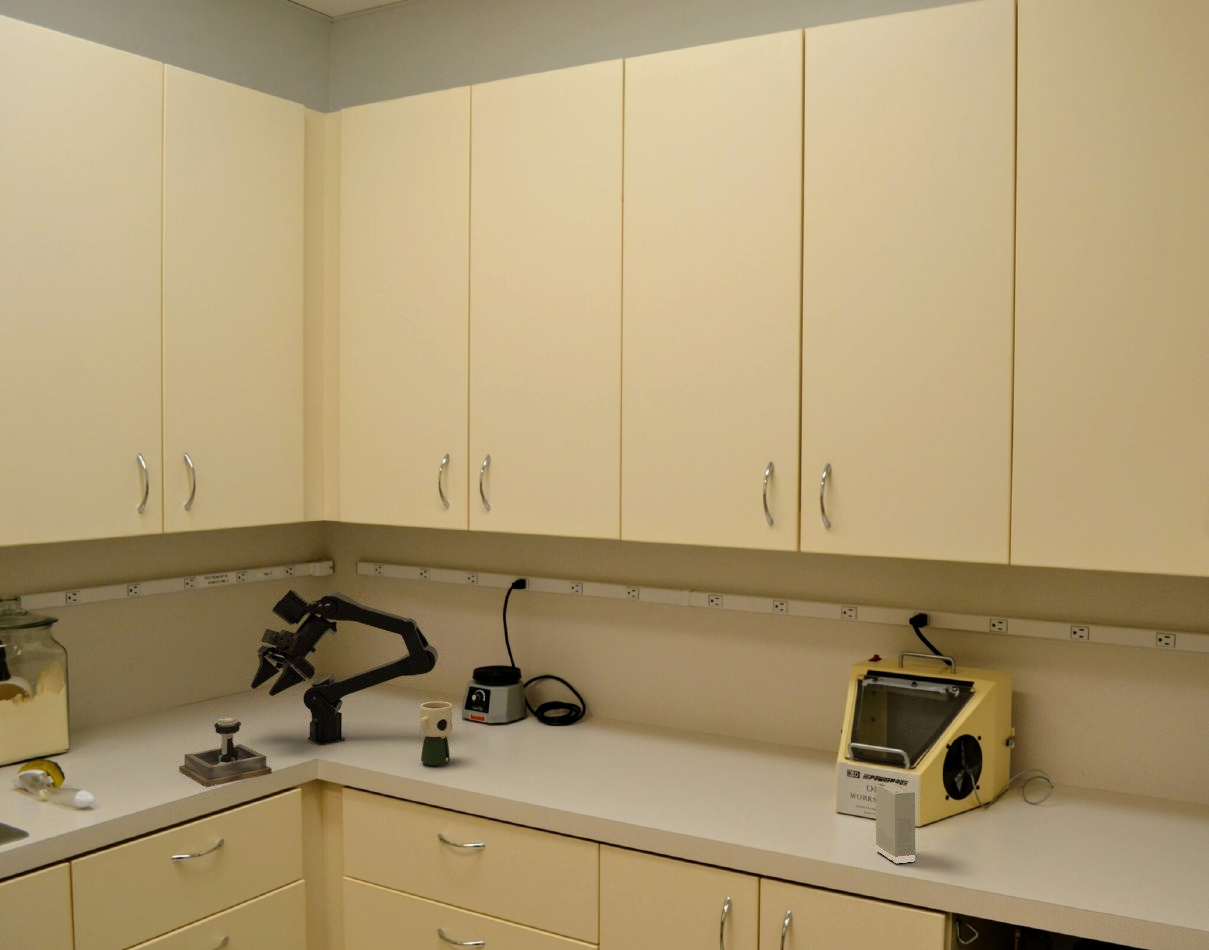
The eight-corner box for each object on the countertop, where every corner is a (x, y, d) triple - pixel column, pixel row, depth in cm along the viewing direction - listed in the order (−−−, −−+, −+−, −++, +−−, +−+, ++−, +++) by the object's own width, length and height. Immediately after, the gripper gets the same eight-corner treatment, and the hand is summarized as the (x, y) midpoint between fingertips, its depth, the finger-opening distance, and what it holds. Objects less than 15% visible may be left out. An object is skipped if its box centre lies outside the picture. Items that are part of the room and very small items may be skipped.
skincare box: (916, 862, 175) (918, 792, 175) (894, 865, 173) (895, 794, 173) (894, 849, 181) (896, 781, 180) (873, 852, 179) (874, 783, 179)
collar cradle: (242, 758, 228) (242, 742, 228) (271, 772, 218) (271, 756, 218) (179, 770, 218) (179, 754, 218) (206, 786, 208) (206, 769, 208)
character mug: (434, 772, 220) (435, 712, 220) (407, 767, 223) (407, 708, 223) (462, 759, 230) (463, 701, 229) (436, 754, 233) (437, 697, 233)
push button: (231, 772, 215) (231, 724, 215) (206, 771, 215) (206, 723, 215) (244, 762, 221) (245, 716, 221) (220, 761, 222) (221, 715, 222)
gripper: (265, 610, 244) (219, 663, 237) (303, 620, 230) (255, 676, 223) (296, 640, 250) (252, 692, 242) (334, 651, 236) (289, 707, 229)
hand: (261, 691), depth 234 cm, fingers open, 9 cm apart
